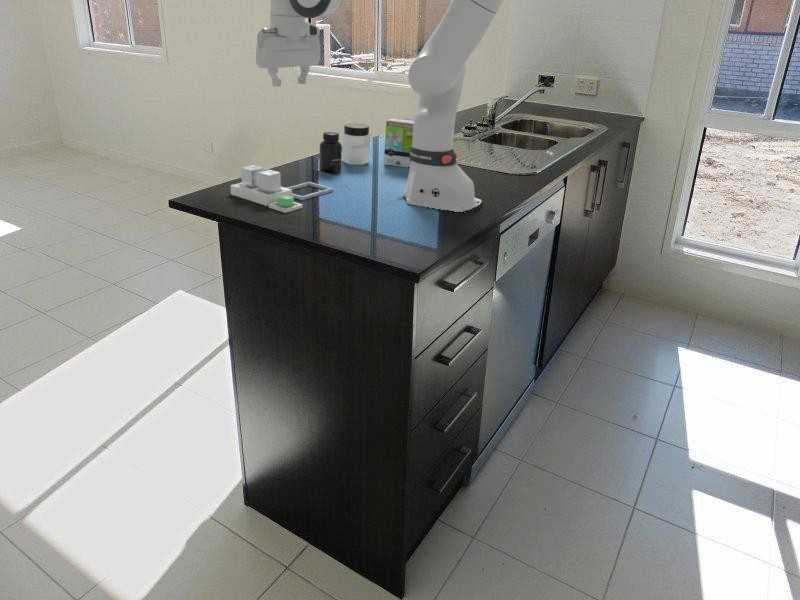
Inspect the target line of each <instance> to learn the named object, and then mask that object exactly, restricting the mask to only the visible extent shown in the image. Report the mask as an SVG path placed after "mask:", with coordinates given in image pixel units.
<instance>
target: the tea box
mask: <svg viewBox="0 0 800 600" xmlns="http://www.w3.org/2000/svg"><path fill="white" fill-rule="evenodd" d="M413 126H414V117H413V118H411V117H403V116H396V115H394V116H393V117H391V118H389V119H388V120H386V124H385V138H384V139H385V140H384V155H383V156H384V157H383V165H384V166H386V165H388V166H395V167H403V168H408V167H410V148H411V145H412V140H413Z"/></svg>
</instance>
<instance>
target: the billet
mask: <svg viewBox="0 0 800 600" xmlns="http://www.w3.org/2000/svg"><path fill="white" fill-rule="evenodd" d="M281 176H282V174H281V172H279V171H277V170H272V169H266V170H263V171H262V172H258V182H259V192H263V193H266V194H269V195H270V194H274V193H277V192H281V187H282V183H281V182H282V181H281V178H282V177H281Z"/></svg>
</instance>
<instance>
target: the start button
mask: <svg viewBox="0 0 800 600" xmlns="http://www.w3.org/2000/svg"><path fill="white" fill-rule="evenodd" d="M277 200H278V206H280V207H283V208H289V207H292V206H294V202H295V201H294V200H295V198H293V197H292V196H279V197H278V198H277Z"/></svg>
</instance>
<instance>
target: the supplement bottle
mask: <svg viewBox="0 0 800 600" xmlns="http://www.w3.org/2000/svg"><path fill="white" fill-rule="evenodd" d="M322 139H323V141H321V142H320V143H319V160H318V161H319V165H318V166H319V167H318V168H319V169H318V170H319V172H321V173H322V172H323V173H327V174H330V175H338V174H340V173H341V172H342V151H343V144H341V142H340V133H339V132H335V131H324V132H323V136H322Z"/></svg>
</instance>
